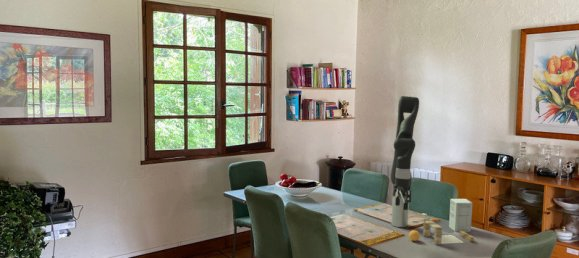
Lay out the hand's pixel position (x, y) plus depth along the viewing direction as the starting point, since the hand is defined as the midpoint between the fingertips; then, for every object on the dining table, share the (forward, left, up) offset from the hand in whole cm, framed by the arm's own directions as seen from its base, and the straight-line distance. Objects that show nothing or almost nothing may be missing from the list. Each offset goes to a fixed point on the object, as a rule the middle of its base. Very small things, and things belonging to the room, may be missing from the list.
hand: (401, 207), depth 235 cm
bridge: (-1, +18, -18) cm, 26 cm away
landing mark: (-1, +27, -18) cm, 33 cm away
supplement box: (-16, +43, -19) cm, 50 cm away
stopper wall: (-1, +38, -18) cm, 42 cm away
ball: (-1, +8, -16) cm, 18 cm away
